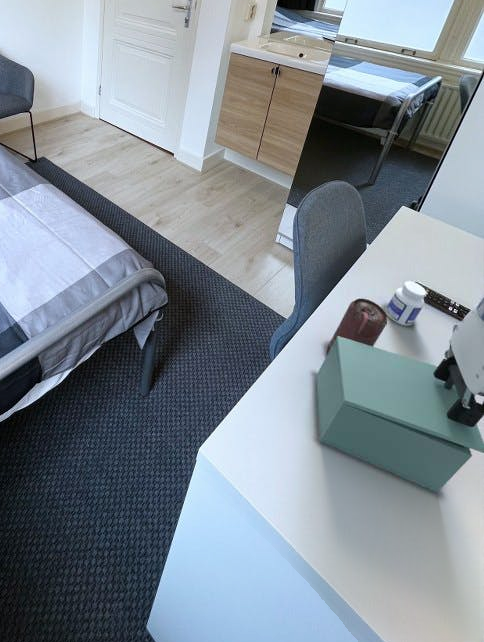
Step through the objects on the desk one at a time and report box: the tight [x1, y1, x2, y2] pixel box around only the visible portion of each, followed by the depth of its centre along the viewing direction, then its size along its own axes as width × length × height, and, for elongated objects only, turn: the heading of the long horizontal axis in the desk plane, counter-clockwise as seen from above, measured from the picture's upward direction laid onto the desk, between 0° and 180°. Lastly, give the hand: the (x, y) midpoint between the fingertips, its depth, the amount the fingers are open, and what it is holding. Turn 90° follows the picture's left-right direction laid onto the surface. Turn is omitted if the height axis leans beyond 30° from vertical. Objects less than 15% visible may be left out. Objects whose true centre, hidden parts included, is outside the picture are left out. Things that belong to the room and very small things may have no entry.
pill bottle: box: [385, 280, 427, 326], centre depth 93 cm, size 5×5×9 cm
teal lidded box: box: [315, 340, 473, 493], centre depth 70 cm, size 17×13×11 cm
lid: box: [336, 336, 484, 454], centre depth 66 cm, size 17×13×6 cm
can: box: [326, 298, 388, 354], centre depth 81 cm, size 6×6×14 cm
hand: (452, 398), depth 64 cm, fingers closed on lid, 6 cm apart
